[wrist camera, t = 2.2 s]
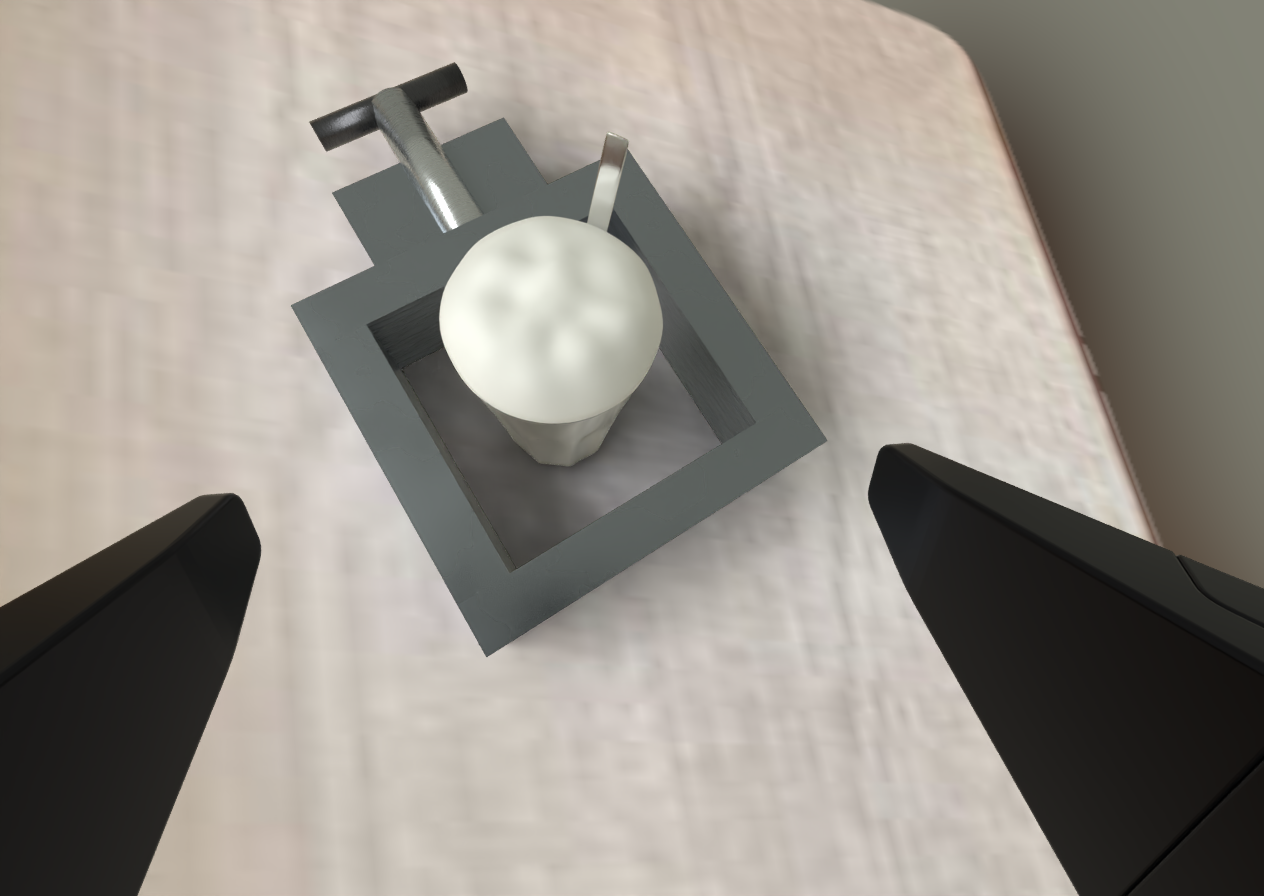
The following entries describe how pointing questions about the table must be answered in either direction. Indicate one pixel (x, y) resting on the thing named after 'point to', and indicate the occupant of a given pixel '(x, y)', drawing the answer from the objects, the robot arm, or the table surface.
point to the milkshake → (555, 324)
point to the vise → (410, 329)
